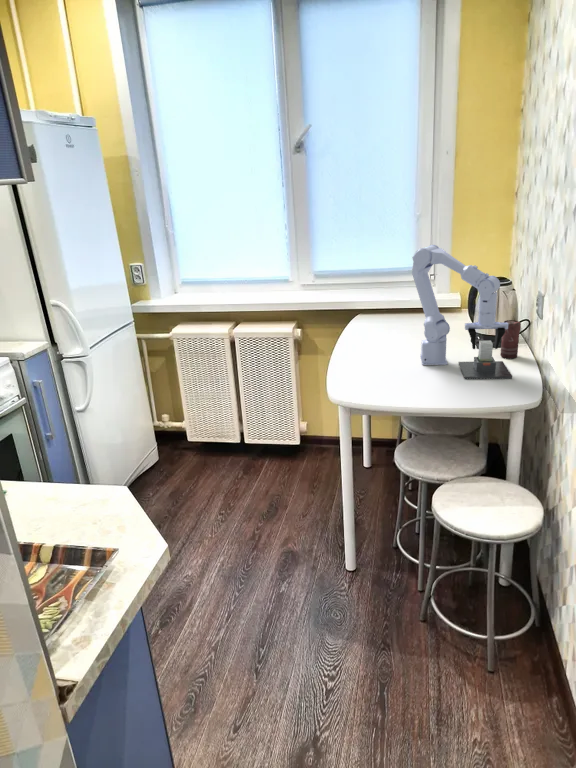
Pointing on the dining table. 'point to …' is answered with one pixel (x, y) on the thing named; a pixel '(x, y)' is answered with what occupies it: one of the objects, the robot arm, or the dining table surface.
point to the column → (485, 351)
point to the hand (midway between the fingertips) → (484, 348)
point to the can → (510, 340)
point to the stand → (484, 370)
